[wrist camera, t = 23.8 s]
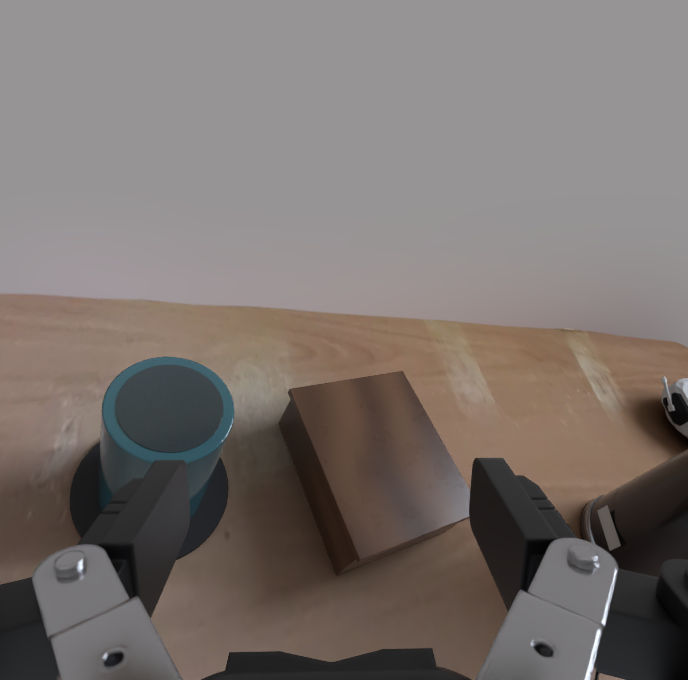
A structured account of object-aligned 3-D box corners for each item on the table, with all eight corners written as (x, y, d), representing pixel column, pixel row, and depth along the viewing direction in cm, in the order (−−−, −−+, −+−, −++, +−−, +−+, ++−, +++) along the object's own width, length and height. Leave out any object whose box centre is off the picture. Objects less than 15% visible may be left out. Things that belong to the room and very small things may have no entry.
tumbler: (190, 435, 35) (216, 349, 28) (214, 521, 32) (250, 448, 25) (91, 455, 32) (93, 362, 25) (106, 552, 29) (113, 478, 22)
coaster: (207, 414, 37) (208, 412, 37) (244, 538, 32) (245, 536, 32) (61, 440, 32) (61, 437, 32) (80, 591, 27) (80, 589, 27)
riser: (380, 399, 45) (402, 370, 42) (450, 534, 38) (482, 511, 35) (273, 420, 39) (289, 388, 36) (334, 581, 33) (360, 560, 30)
